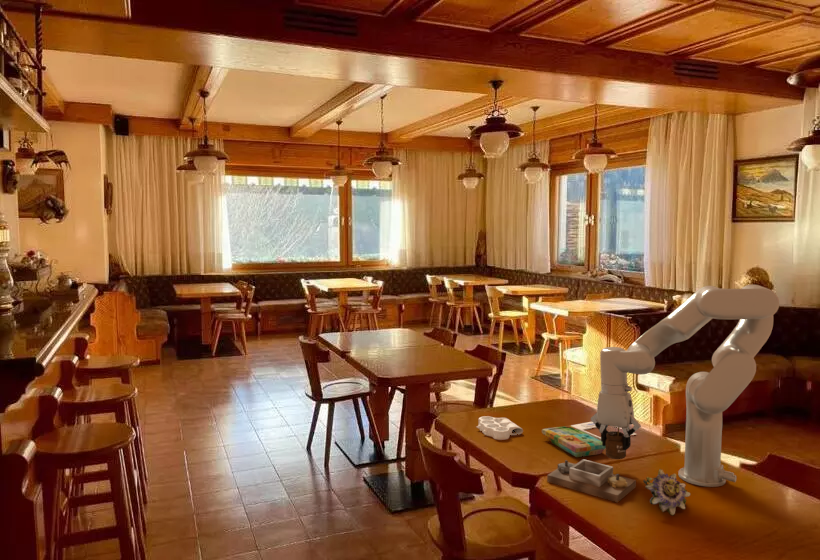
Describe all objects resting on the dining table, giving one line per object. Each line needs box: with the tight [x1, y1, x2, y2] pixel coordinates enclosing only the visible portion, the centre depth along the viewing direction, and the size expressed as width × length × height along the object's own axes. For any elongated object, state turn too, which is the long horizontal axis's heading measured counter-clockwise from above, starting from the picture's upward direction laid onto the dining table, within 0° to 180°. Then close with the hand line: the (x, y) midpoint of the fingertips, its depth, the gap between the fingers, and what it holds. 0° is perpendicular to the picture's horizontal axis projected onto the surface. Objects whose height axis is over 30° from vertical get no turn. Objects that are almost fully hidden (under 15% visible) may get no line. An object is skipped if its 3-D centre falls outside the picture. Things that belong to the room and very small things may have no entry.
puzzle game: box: [541, 425, 606, 458], centre depth 208 cm, size 12×5×20 cm
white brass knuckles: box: [476, 415, 524, 441], centre depth 224 cm, size 3×18×15 cm
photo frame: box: [570, 421, 637, 441], centre depth 224 cm, size 15×1×18 cm
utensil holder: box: [605, 423, 627, 460], centre depth 187 cm, size 6×6×12 cm
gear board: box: [546, 458, 637, 503], centre depth 177 cm, size 21×13×5 cm, turn 49°
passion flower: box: [643, 468, 691, 516], centre depth 163 cm, size 11×11×12 cm
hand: (615, 446), depth 187 cm, fingers closed on utensil holder, 5 cm apart
